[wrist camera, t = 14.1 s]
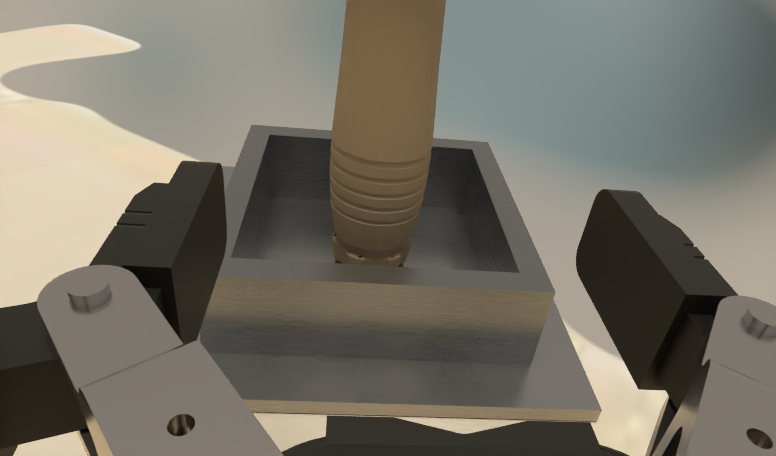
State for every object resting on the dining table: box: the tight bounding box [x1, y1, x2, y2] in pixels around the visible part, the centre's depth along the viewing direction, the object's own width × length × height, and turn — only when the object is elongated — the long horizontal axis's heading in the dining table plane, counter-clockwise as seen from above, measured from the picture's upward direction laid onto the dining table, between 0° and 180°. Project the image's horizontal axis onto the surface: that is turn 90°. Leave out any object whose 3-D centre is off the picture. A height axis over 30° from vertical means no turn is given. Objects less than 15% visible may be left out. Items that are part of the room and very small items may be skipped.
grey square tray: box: [197, 125, 602, 421], centre depth 25 cm, size 16×16×4 cm
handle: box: [330, 0, 446, 267], centre depth 21 cm, size 5×6×15 cm
